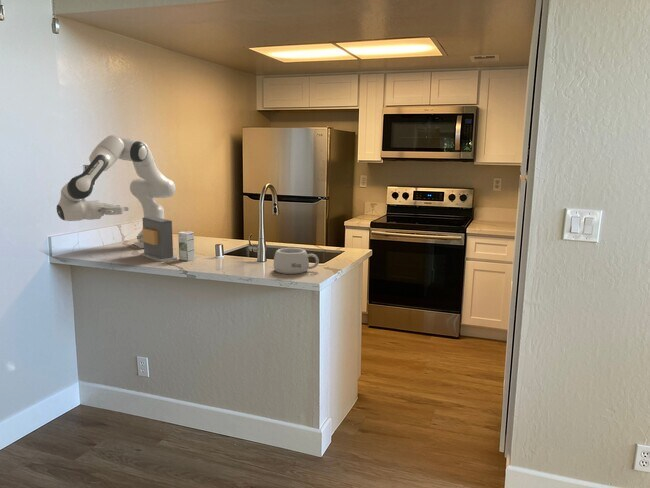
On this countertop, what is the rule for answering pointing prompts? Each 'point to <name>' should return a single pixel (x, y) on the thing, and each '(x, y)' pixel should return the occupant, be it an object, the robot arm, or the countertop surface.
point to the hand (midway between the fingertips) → (123, 207)
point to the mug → (293, 261)
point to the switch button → (150, 236)
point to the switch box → (159, 240)
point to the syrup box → (186, 246)
